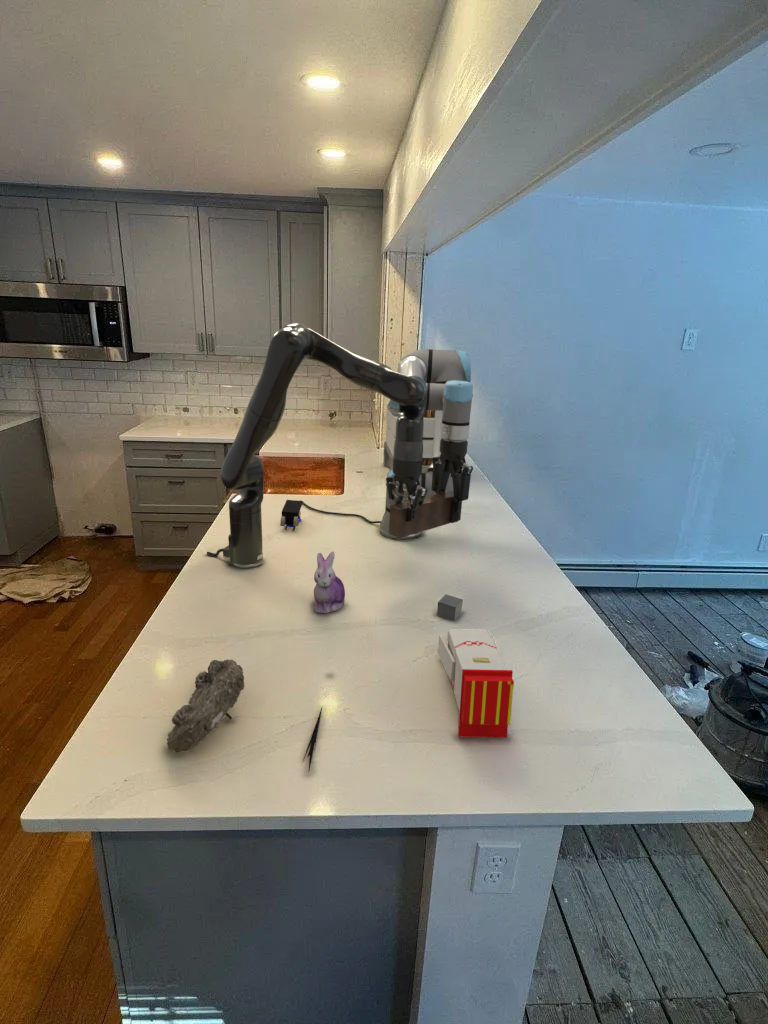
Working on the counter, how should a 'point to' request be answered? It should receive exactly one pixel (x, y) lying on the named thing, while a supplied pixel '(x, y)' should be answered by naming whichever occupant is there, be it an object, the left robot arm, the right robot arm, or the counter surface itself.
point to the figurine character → (291, 514)
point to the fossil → (206, 705)
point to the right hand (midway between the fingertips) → (447, 519)
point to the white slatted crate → (391, 431)
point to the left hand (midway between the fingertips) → (404, 518)
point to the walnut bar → (421, 515)
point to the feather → (313, 740)
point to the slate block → (449, 607)
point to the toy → (478, 682)
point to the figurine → (327, 586)
